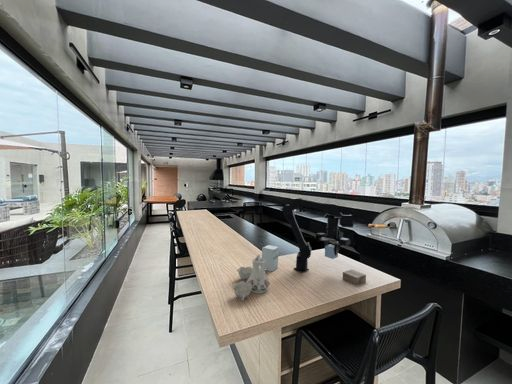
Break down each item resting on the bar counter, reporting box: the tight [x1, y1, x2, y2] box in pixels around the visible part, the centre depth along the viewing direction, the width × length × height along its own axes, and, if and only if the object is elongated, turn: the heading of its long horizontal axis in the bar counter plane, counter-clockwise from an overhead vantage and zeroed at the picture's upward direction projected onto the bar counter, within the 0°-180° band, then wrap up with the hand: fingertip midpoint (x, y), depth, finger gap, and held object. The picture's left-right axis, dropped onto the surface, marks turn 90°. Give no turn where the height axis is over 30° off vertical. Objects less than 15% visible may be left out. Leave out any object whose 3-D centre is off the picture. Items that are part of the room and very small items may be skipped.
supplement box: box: [261, 244, 279, 272], centre depth 125 cm, size 7×7×13 cm
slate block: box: [324, 243, 339, 260], centre depth 120 cm, size 5×5×6 cm
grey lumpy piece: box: [232, 254, 271, 302], centre depth 100 cm, size 28×17×17 cm, turn 4°
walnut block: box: [342, 269, 367, 286], centre depth 113 cm, size 8×8×4 cm
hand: (331, 254), depth 120 cm, fingers closed on slate block, 5 cm apart
